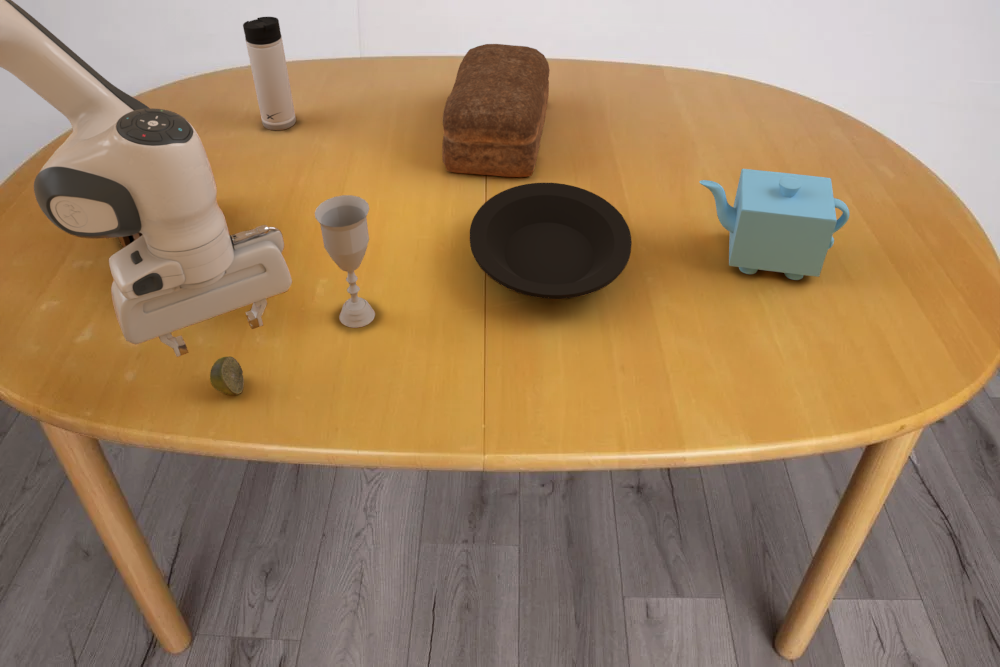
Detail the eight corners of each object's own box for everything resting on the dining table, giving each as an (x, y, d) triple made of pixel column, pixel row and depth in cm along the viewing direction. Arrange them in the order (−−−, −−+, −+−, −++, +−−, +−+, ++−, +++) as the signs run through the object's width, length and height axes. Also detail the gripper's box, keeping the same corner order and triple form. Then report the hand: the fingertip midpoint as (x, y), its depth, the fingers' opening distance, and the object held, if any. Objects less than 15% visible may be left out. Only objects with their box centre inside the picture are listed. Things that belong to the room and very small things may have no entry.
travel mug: (275, 135, 162) (254, 30, 148) (256, 122, 165) (234, 18, 152) (303, 123, 165) (286, 20, 151) (284, 111, 168) (266, 8, 155)
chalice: (361, 338, 121) (346, 233, 109) (322, 322, 123) (303, 217, 111) (391, 308, 126) (380, 204, 113) (352, 293, 128) (337, 189, 116)
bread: (551, 99, 172) (554, 34, 163) (535, 184, 150) (537, 114, 141) (465, 93, 174) (464, 29, 165) (437, 176, 151) (433, 107, 142)
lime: (240, 371, 116) (232, 344, 113) (255, 393, 113) (247, 365, 110) (208, 385, 114) (199, 358, 111) (222, 407, 111) (213, 380, 108)
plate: (642, 322, 124) (646, 292, 120) (473, 328, 123) (472, 297, 119) (612, 209, 144) (615, 180, 140) (467, 213, 143) (467, 184, 139)
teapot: (830, 244, 137) (854, 168, 128) (835, 288, 129) (861, 211, 120) (688, 227, 141) (702, 152, 131) (685, 269, 132) (699, 192, 123)
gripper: (269, 207, 104) (289, 295, 114) (93, 263, 97) (130, 352, 106) (288, 234, 100) (307, 323, 110) (106, 294, 93) (143, 384, 102)
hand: (219, 338), depth 108 cm, fingers open, 8 cm apart
